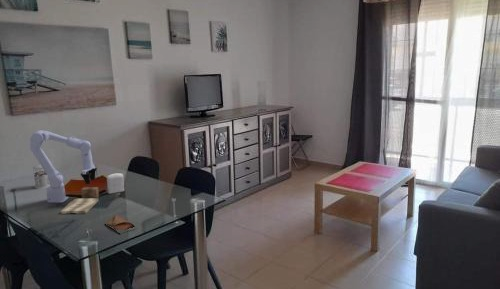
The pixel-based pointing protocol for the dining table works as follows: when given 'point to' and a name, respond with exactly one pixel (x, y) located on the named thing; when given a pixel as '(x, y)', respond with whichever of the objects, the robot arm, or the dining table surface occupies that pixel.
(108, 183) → the photo printer
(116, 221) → the sunglasses case
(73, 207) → the board
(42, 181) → the french press
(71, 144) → the robot arm
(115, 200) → the dining table surface
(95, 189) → the block
